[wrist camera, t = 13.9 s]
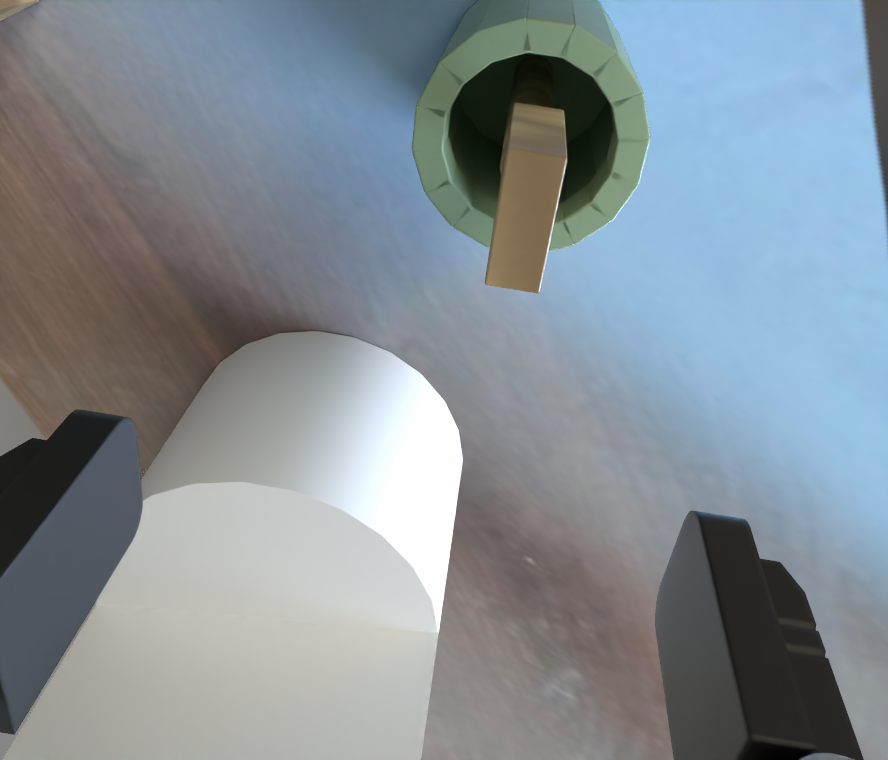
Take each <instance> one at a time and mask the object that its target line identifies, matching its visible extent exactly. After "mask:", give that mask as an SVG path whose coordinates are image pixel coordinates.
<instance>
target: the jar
mask: <svg viewBox="0 0 888 760" xmlns="http://www.w3.org/2000/svg"><path fill="white" fill-rule="evenodd" d="M529 55H539V56H542V57H544V58H545V59H547V60H548V62H549V63H550V64H551V67H552V70H553V91H554V109H561V110H563V111H564V117H565V132H566V146H567V164H566V169H565V174H564V179H563V183H562V188H561V193H560V198H559V203H558V207H557V212H556V217H555V222H554V226H553V231H552V236H551V241H550V246H549V250H548V251H552V250H557V249H561V248H566V247H570V246H574V244H578V243H579V242H581V241H582V240H584V239H585V238H587V237H588V236H590V235H591V234H593V233H595V232H596V231H598V230H599V229H601V228H602V227H604V226H605V225H607V224H608V223H610V222H611V221H613V220H614V218H615V217H616V216H617V214H618V213H619V211H620V210H621V209H622V207H623V206H624V205H625V203H626V202H627V200H628V199H629V198H630V196H631V195H632V194H633V192H634V191H635V189H636V188H637V187H638V183H639V182H640V179H641V175H642V171H643V167H644V163H645V159H646V155H647V151H648V147H649V143H650V131H649V124H648V118H647V111H646V105H645V98H644V93H643V90H642V88H641V85H640V83H639V81H638V78H637V76H636V73H635V71H634V68H633V66H632V64H631V61H630V59H629V57H628V54H627V52H626V49H625V47H624V45H623V42H622V40H621V38H620V35H619V33H618V31H617V29H616V28H615V26H614V25H613V23H612V22H611V20H610V18H609V16H608V15H607V13H606V12H605V11H604V9H603V7H602V6H601V4H600V3H599V2H598V1H597V0H478V1H477V2H476V3H475V4H474V5H473V6H472V7H471V8H469V9H468V10H467V12H466V13H465V14H464V16H463V18H462V20H461V22H460V24H459V25H458V27H457V29H456V31H455V33H454V35H453V37H452V38H451V40H450V42H449V44H448V46H447V48H446V49H445V51H444V53H443V55H442V57H441V59H440V60H439V62H438V64H437V66H436V68H435V70H434V72H433V74H432V75H431V77H430V79H429V81H428V83H427V85H426V87H425V89H424V90H423V92H422V94H421V96H420V98H419V100H418V102H417V105H416V111H415V122H414V132H413V142H412V150H413V156H414V159H415V162H416V166H417V169H418V172H419V176H420V179H421V182H422V186H423V189H424V191H425V192H426V195H427V197H428V198H429V199H430V200H431V202H432V203H433V204H434V205H435V207H436V208H437V209H438V210H439V212H440V213H441V214H442V215H443V217H444V218H445V219H446V220H447V222H448V223H449V224H450V225H451V226H453V227H454V228H455V229H457V230H458V231H460V232H462V233H464V234H465V235H467V236H469V237H470V238H472V239H474V240H476V241H477V242H479V243H481V244H483V245H484V246H486V247H490V244H491V237H492V230H493V223H494V217H495V211H496V205H497V199H498V193H499V187H500V181H501V172H500V162H501V156H502V150H503V143H504V137H505V130H506V124H507V117H508V111H509V104H510V98H511V91H512V85H513V79H514V72H515V68H516V66H517V64H518V63H519V62H520V61H521V60H522V59H523V58H524V57H526V56H529Z"/></svg>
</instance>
